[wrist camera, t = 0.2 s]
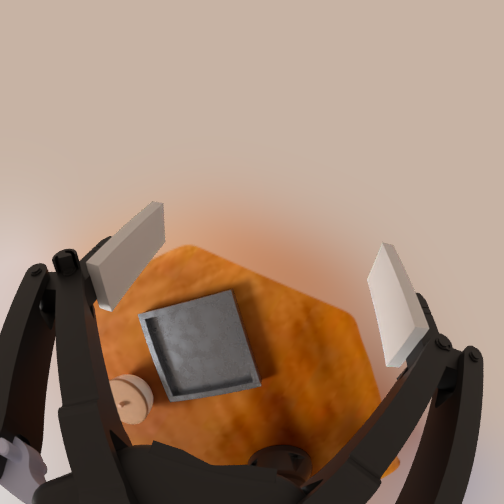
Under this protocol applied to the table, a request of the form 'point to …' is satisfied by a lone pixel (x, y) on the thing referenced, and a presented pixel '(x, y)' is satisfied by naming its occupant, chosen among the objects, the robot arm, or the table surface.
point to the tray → (201, 347)
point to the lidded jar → (131, 398)
